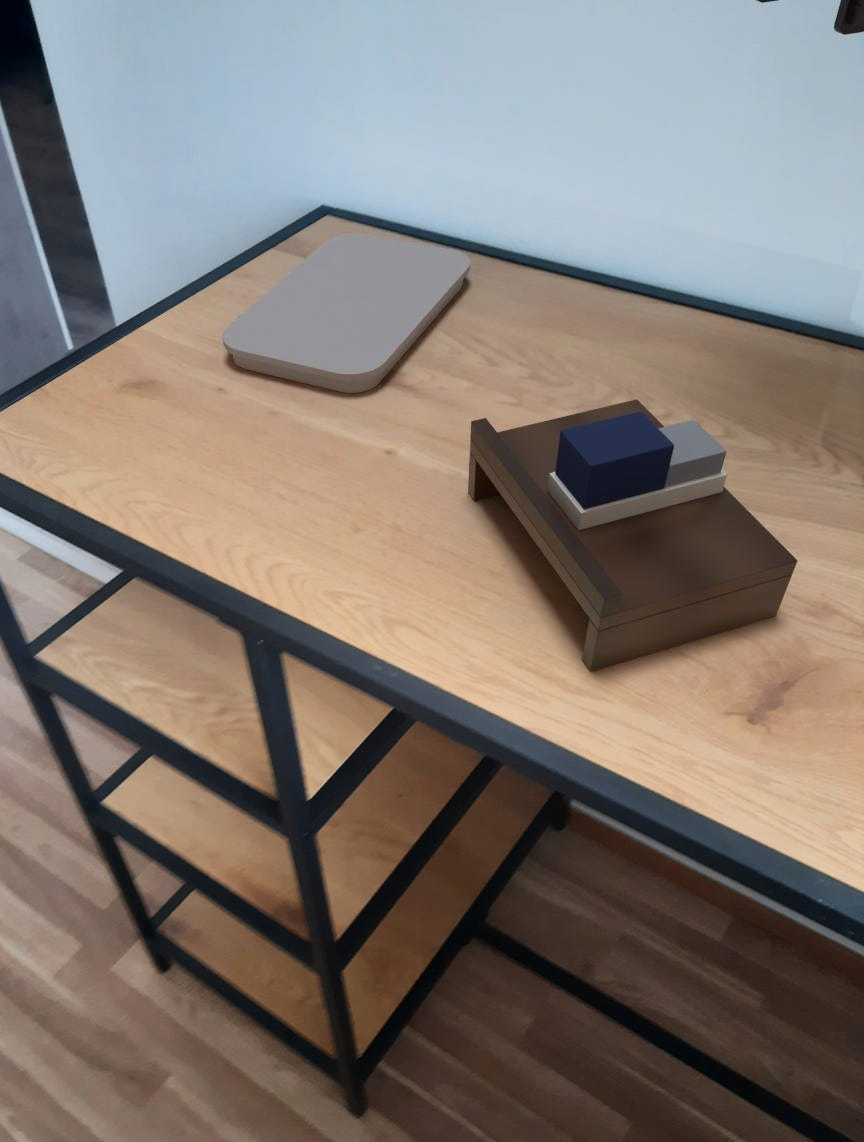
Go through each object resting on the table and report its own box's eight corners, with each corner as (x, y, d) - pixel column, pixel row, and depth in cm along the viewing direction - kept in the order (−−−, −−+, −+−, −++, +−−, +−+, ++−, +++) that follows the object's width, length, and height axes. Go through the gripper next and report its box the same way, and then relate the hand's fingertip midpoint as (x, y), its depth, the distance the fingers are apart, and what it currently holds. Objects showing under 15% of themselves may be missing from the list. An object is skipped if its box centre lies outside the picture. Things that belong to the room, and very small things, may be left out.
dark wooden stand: (626, 452, 76) (640, 381, 71) (776, 615, 63) (805, 542, 58) (467, 492, 73) (470, 420, 68) (590, 672, 60) (604, 599, 55)
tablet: (478, 275, 98) (479, 254, 96) (369, 403, 82) (368, 380, 80) (340, 249, 103) (339, 229, 101) (212, 365, 87) (208, 343, 85)
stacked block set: (685, 455, 67) (701, 394, 64) (722, 492, 64) (740, 430, 61) (547, 490, 65) (554, 429, 61) (578, 530, 62) (588, 468, 58)
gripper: (1065, -350, 45) (932, 36, 57) (867, -348, 55) (788, -16, 66) (938, -343, 44) (828, 53, 56) (757, -342, 53) (696, -3, 65)
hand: (806, 15), depth 61 cm, fingers open, 8 cm apart
